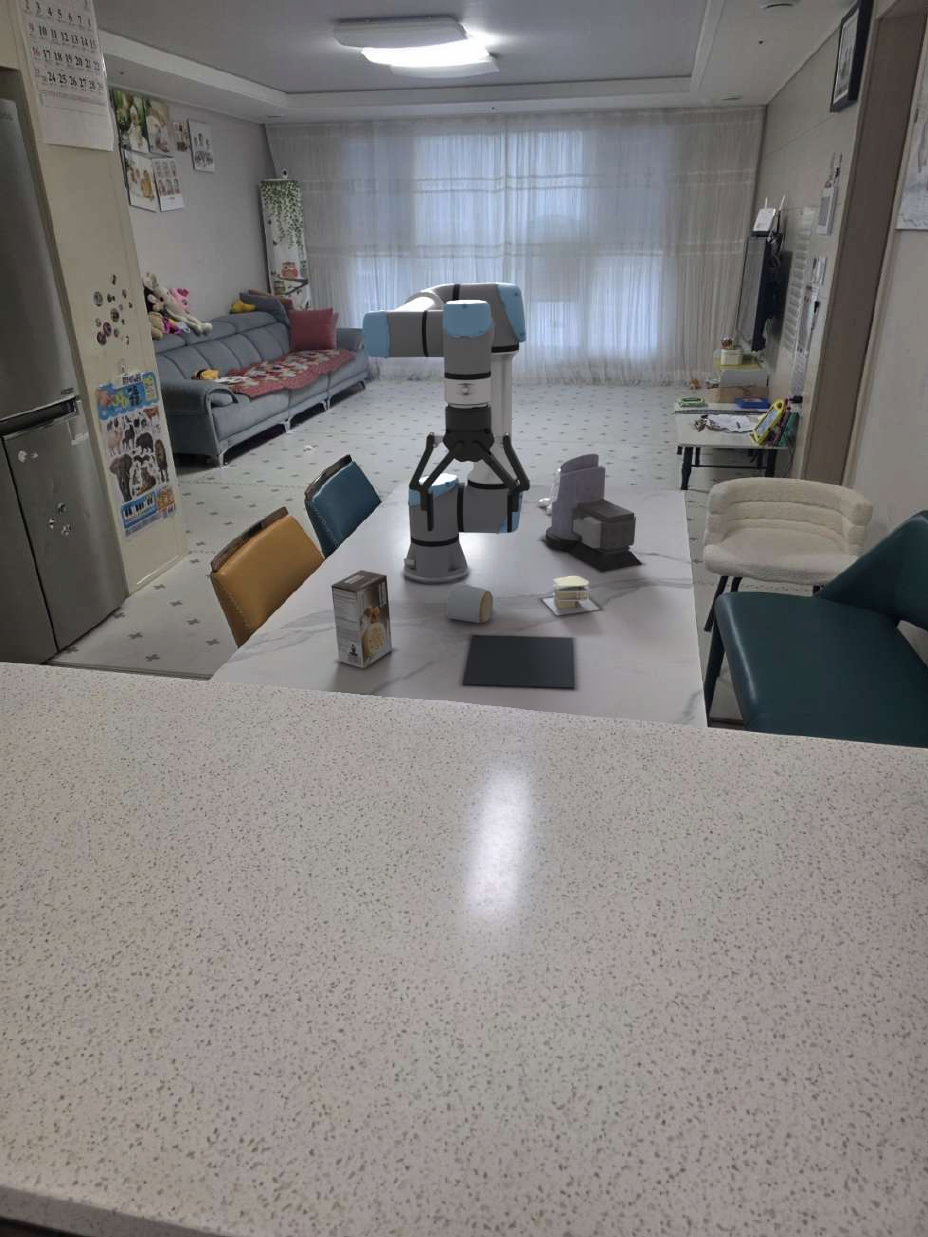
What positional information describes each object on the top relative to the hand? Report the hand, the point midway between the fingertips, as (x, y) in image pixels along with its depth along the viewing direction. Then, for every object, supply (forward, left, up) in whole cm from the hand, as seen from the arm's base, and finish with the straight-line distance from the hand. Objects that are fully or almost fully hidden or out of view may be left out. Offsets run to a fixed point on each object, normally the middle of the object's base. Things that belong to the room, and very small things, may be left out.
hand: (470, 529), depth 141 cm
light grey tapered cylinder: (-24, -2, -28) cm, 37 cm away
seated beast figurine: (-101, +16, -28) cm, 106 cm away
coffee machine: (-67, +24, -28) cm, 77 cm away
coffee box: (-5, -21, -28) cm, 36 cm away
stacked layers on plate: (-32, +19, -28) cm, 47 cm away
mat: (-5, +9, -28) cm, 30 cm away
